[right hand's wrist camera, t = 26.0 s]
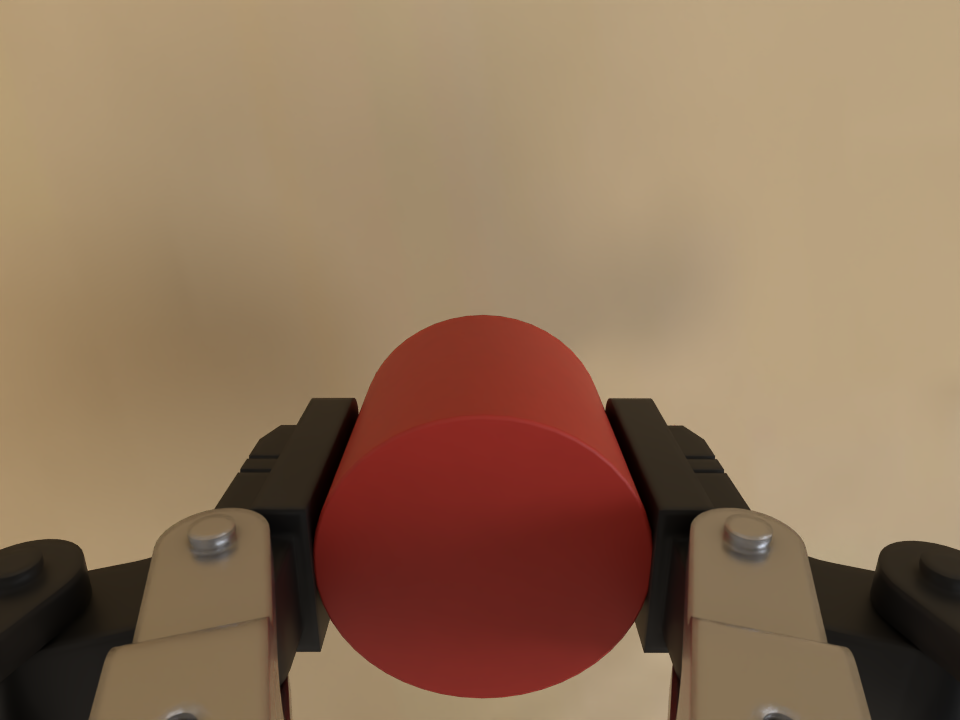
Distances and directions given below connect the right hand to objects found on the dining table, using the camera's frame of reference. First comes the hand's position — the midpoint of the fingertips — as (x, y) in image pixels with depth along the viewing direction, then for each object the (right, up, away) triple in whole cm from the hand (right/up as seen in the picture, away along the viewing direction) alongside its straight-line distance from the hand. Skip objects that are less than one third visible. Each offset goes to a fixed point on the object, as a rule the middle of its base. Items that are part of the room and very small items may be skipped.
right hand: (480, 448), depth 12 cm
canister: (0, 0, 0) cm, 1 cm away
